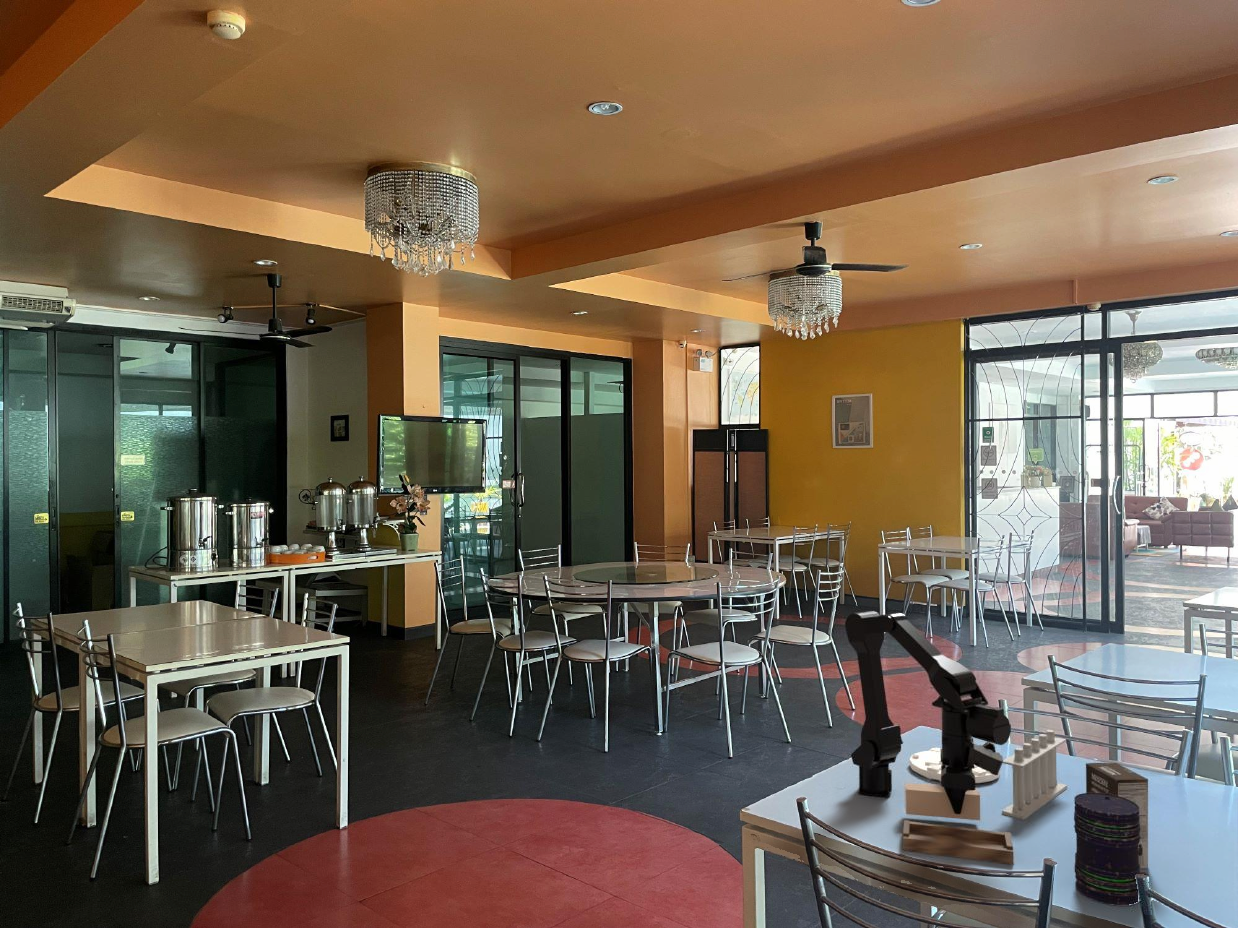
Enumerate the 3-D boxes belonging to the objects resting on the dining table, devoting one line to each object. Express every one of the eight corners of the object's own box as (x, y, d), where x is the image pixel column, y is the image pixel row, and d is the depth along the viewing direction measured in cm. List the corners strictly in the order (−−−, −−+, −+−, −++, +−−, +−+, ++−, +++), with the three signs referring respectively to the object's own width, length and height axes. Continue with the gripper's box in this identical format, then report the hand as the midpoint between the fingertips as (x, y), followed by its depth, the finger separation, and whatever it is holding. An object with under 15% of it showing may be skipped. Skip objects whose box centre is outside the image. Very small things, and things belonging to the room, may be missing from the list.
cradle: (903, 849, 166) (903, 834, 166) (904, 832, 174) (904, 818, 174) (1013, 864, 160) (1013, 848, 160) (1009, 845, 168) (1009, 830, 168)
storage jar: (1140, 911, 142) (1139, 818, 143) (1072, 896, 148) (1070, 806, 148) (1142, 886, 151) (1141, 799, 151) (1077, 873, 156) (1076, 788, 156)
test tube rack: (1023, 820, 180) (1022, 755, 180) (1001, 814, 183) (1001, 750, 183) (1067, 788, 198) (1066, 729, 198) (1046, 783, 201) (1046, 725, 201)
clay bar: (906, 814, 179) (906, 789, 179) (904, 806, 183) (904, 782, 183) (980, 820, 176) (979, 795, 176) (977, 812, 180) (977, 788, 180)
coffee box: (1084, 848, 166) (1083, 762, 166) (1117, 846, 167) (1116, 761, 167) (1116, 870, 157) (1115, 779, 157) (1150, 868, 158) (1149, 777, 158)
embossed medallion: (935, 753, 224) (935, 742, 224) (1014, 772, 209) (1014, 759, 209) (894, 772, 210) (894, 759, 210) (975, 793, 196) (974, 779, 196)
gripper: (1003, 749, 167) (1004, 832, 167) (996, 723, 185) (997, 798, 185) (940, 744, 171) (941, 825, 171) (940, 718, 189) (940, 791, 189)
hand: (957, 809), depth 179 cm, fingers closed on clay bar, 4 cm apart
